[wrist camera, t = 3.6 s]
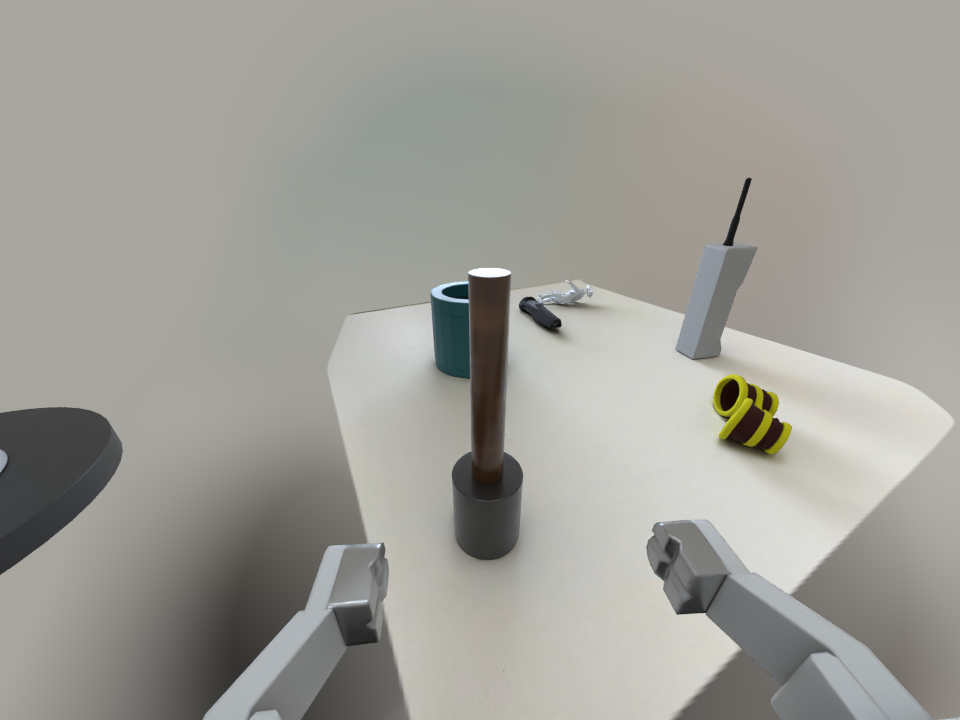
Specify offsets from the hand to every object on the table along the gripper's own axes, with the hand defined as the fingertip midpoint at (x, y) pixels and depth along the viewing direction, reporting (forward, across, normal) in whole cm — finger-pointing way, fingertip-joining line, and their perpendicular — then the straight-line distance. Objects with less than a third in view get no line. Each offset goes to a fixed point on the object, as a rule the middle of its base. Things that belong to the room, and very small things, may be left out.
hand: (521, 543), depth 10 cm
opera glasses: (+21, -30, +14) cm, 39 cm away
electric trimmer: (+58, -16, +15) cm, 62 cm away
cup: (+40, -1, +14) cm, 43 cm away
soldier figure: (+67, -23, +15) cm, 73 cm away
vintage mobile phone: (+40, -37, +14) cm, 56 cm away
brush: (+11, 0, +14) cm, 18 cm away
